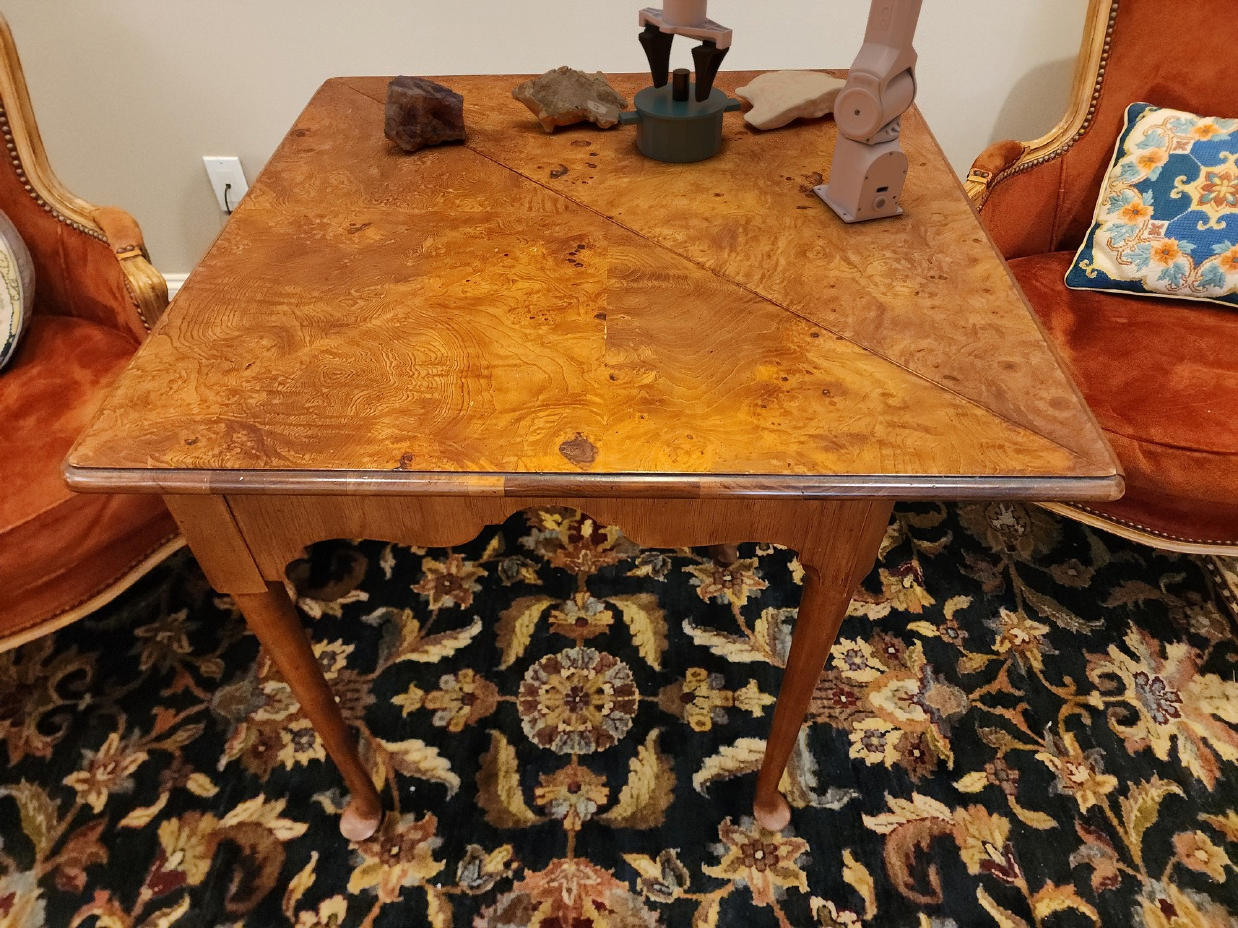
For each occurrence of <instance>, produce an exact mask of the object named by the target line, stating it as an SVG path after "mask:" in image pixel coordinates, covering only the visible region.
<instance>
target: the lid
mask: <svg viewBox="0 0 1238 928" xmlns="http://www.w3.org/2000/svg"><path fill="white" fill-rule="evenodd" d="M728 99H729V98H728V95H727V94H726V92H724V91H723V90H722V89H720V88H718V87H716V86H713V85H712V88H711V92H710V95H709V99H707V100H705V101H703V102H700V103H699V102H696V99H695V82H692V81H691V70H690V69H689V68H685V67H684V68H683V67H680V68H675V69H673V70H672V81H670V82H667V85H665V86H663V87H661V88H658V89H657V88H654V84H653V85H650V86H647V87H645V88H642V89H641V90H639V91H638V92H637V93H636V94H635V95H634V97H633V106H634V108H635V110H638V111H640V112H641V113H643V114H645V115H648V116H651V117H654V118H659V119H664V120H676V121H685V120H697V119H703V118H707V117H710V116H713V115H716V114H718V113H720V112H721V111H723V110H724V109H725V108H726V106H727V104H728Z"/></svg>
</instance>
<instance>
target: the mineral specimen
mask: <svg viewBox="0 0 1238 928" xmlns="http://www.w3.org/2000/svg"><path fill="white" fill-rule="evenodd" d="M511 97H512V100H515V101H516V102H520V103H522V104H523V105H524V106H525V107H526V108H527V109H528V110H529V111H530V112H531V113H532V114H533V115H534V116H535V117H536V118H537V120H538V123H539V125H540V126H542V127H543V129H544V131H545V132H546V133H551V134H552V133H554V132H553V131H554V129H555V127H556V126H560V127H561V126H562V127H563V126H569V125H574V124H577V123H581V122H583V121H585V120H587V121H589V122H590V123H596V125H597V127H598V128H601V129H605V130H607V129H608V128H610V127H612V126H613V125H616V124H618V122H619V113H620V112H623V110H626V109H627V108H628V107H629V101H628V100H627V98H626V97H624V96H623V95H622V94H621V93H620V92H619V91H617V90H615V89H614V87H612V86H611V84H610V83H609V82H608V79H607V77H606V75H605V74H604V72H602V70H597V71H596V72H595V74H594V75H591V74H589V73H587V72H585V71H584V70H582V69H581V70H577V69H573V68H571V67H569V66H568V65H562V66H560V67H558V68H553V69H549V70H548V71H546V72H544V73H542V74H541V75H539V76H538V77H536V78H533V79H530V80H526V81H523V82H522V83H519V84H518V85H516V86H515V87H513V88H512V89H511Z"/></svg>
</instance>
